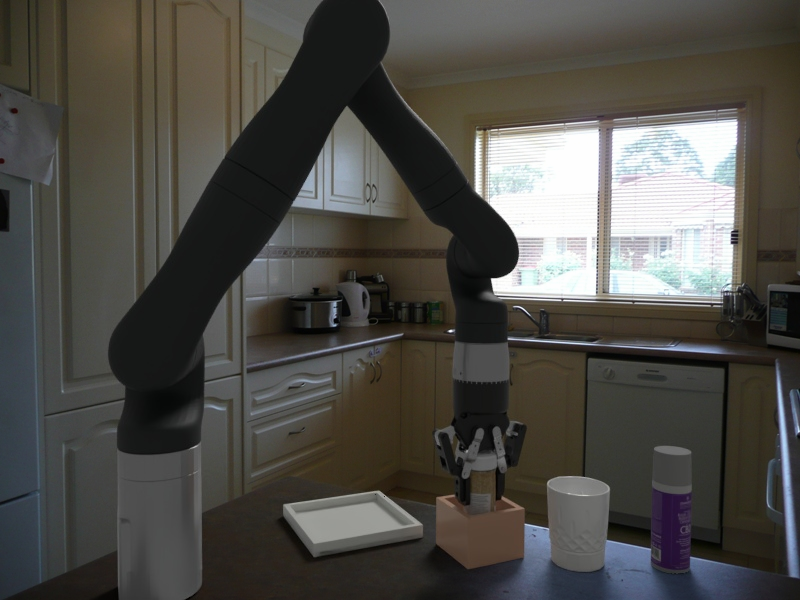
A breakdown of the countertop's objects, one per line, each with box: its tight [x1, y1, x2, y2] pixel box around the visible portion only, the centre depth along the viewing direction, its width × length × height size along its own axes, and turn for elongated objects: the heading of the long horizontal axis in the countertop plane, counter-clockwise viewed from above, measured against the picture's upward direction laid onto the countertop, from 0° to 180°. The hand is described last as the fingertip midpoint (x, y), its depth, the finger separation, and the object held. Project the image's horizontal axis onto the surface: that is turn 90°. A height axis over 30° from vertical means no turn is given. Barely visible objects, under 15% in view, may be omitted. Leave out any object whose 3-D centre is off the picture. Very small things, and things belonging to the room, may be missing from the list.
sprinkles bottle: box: [463, 449, 497, 516], centre depth 87 cm, size 5×5×13 cm
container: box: [650, 445, 693, 575], centre depth 83 cm, size 5×5×15 cm
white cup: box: [546, 475, 611, 573], centre depth 84 cm, size 8×8×10 cm
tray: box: [282, 490, 424, 558], centre depth 96 cm, size 16×16×2 cm
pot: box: [435, 494, 526, 570], centre depth 87 cm, size 9×9×6 cm
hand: (479, 500), depth 87 cm, fingers closed on sprinkles bottle, 4 cm apart
